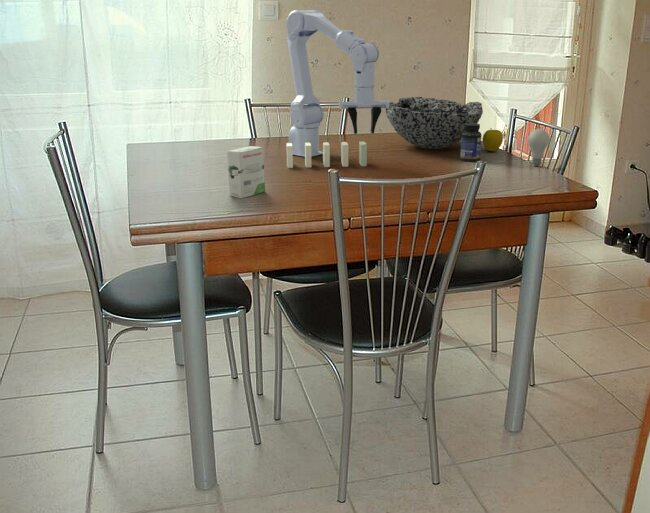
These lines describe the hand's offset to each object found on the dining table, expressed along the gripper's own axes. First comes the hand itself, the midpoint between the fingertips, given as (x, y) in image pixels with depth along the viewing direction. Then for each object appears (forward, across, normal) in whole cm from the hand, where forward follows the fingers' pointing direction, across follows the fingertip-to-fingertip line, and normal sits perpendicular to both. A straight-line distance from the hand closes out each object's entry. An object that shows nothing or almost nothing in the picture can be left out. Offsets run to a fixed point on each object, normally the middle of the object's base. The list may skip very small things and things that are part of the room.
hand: (363, 133), depth 216 cm
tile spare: (+10, 0, 0) cm, 10 cm away
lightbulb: (+10, +50, -8) cm, 52 cm away
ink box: (+10, -34, -33) cm, 48 cm away
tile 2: (+10, -17, 0) cm, 19 cm away
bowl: (+10, +26, +24) cm, 37 cm away
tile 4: (+10, -6, 0) cm, 11 cm away
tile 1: (+10, -22, 0) cm, 24 cm away
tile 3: (+10, -11, 0) cm, 15 cm away
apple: (+10, +44, +15) cm, 48 cm away
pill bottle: (+10, +34, +3) cm, 35 cm away
